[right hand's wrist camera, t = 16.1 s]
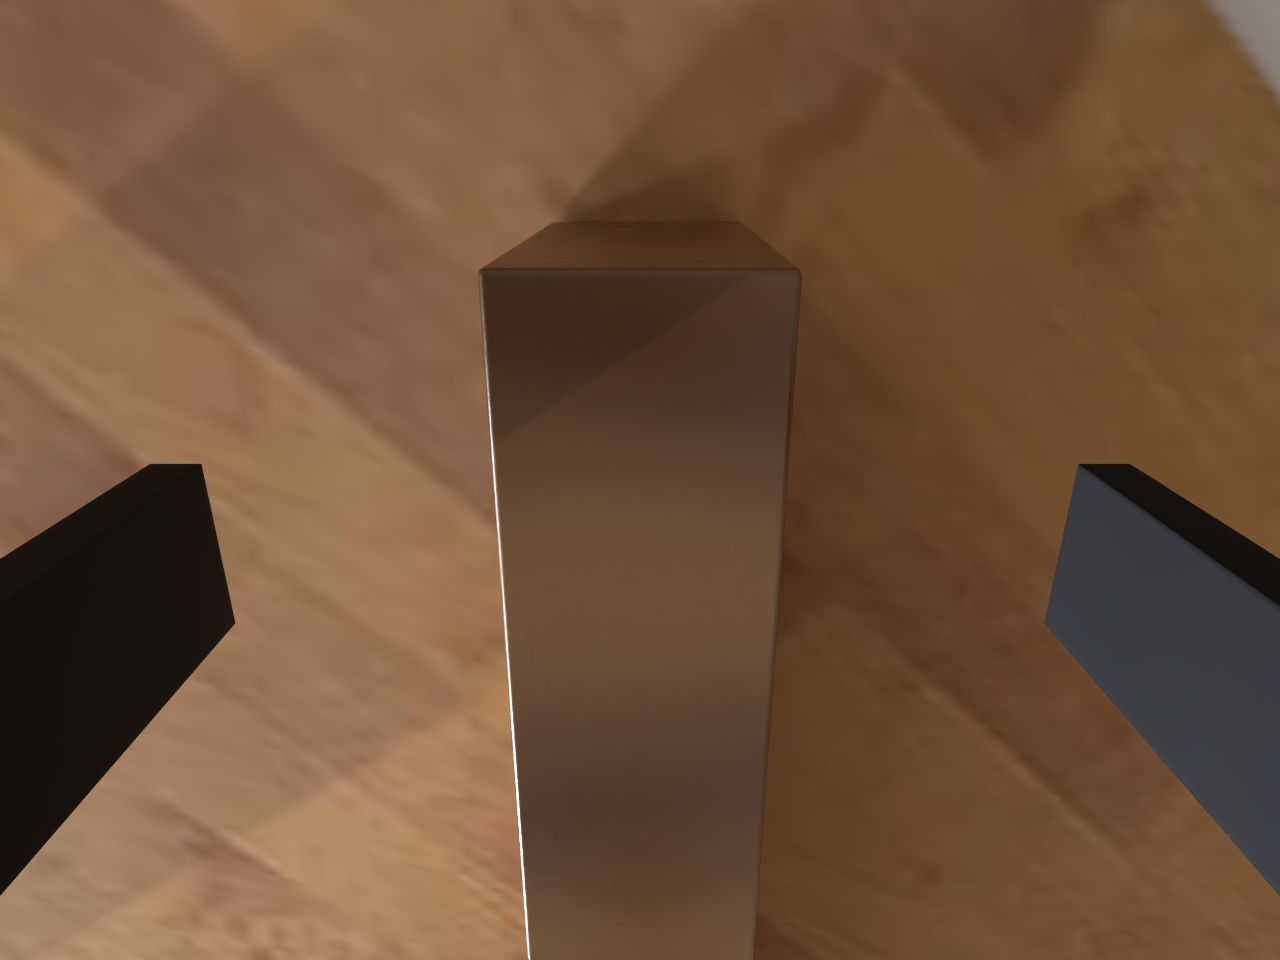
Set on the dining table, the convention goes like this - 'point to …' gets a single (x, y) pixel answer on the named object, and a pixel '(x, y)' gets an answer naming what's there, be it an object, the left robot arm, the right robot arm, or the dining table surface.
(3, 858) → the right robot arm
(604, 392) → the beam
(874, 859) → the dining table surface
